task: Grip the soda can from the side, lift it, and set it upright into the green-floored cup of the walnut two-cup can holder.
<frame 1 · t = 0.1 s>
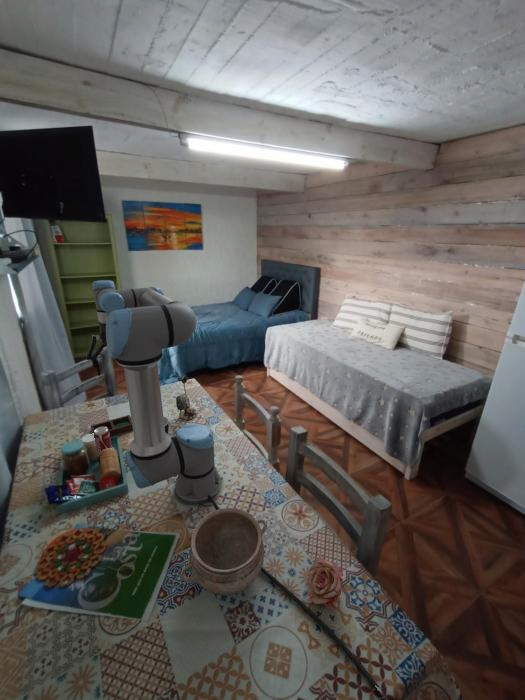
hand: (117, 370, 130), 28 cm above the table, tool pointing down, fingers open, 13 cm apart
plant with pod: (187, 416, 150), on the table
flower: (323, 594, 78), on the table
soda can: (106, 456, 123), on the table
cooking pot: (227, 570, 83), on the table
coffee mug: (161, 440, 133), on the table
holder: (113, 430, 138), on the table
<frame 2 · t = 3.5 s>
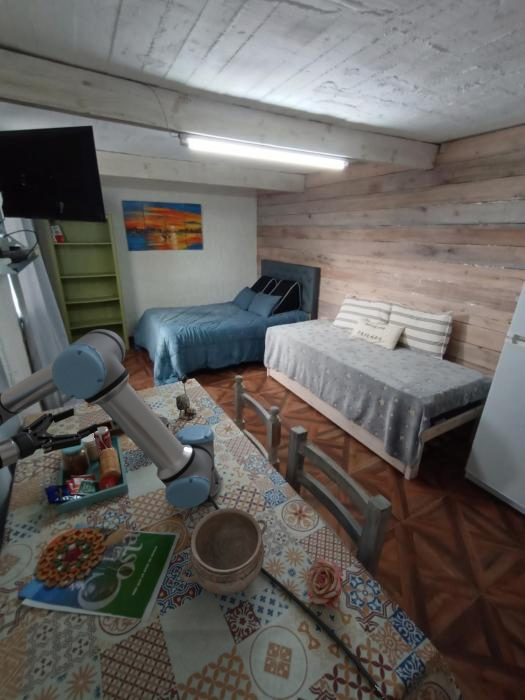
hand: (85, 419, 110), 21 cm above the table, tool horizontal, fingers open, 13 cm apart
nothing on the table moved.
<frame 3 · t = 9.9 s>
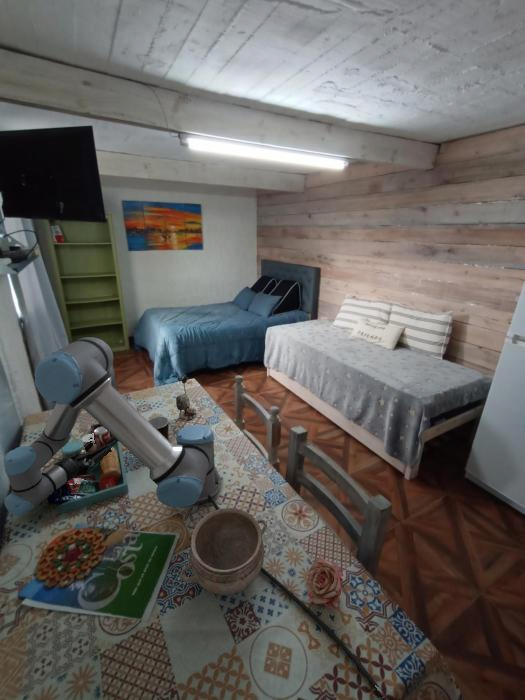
hand: (113, 434, 125), 6 cm above the table, tool horizontal, fingers closed on soda can, 5 cm apart
soda can: (106, 456, 123), on the table, touching gripper
everything else where it was.
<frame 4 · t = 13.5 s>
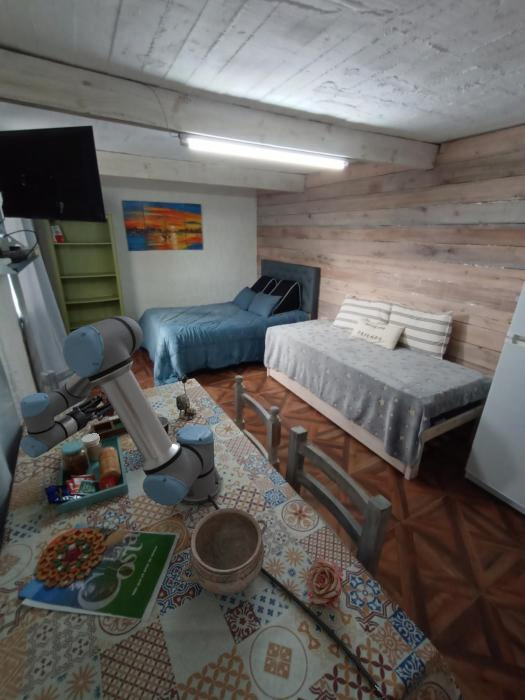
hand: (119, 394, 132), 18 cm above the table, tool horizontal, fingers closed on soda can, 5 cm apart
soda can: (112, 414, 130), point 11 cm above the table, touching gripper
everything else where it was.
when the fingers open (7 cm above the table, at t = 17.6 s): soda can stays where it is, resting on holder.
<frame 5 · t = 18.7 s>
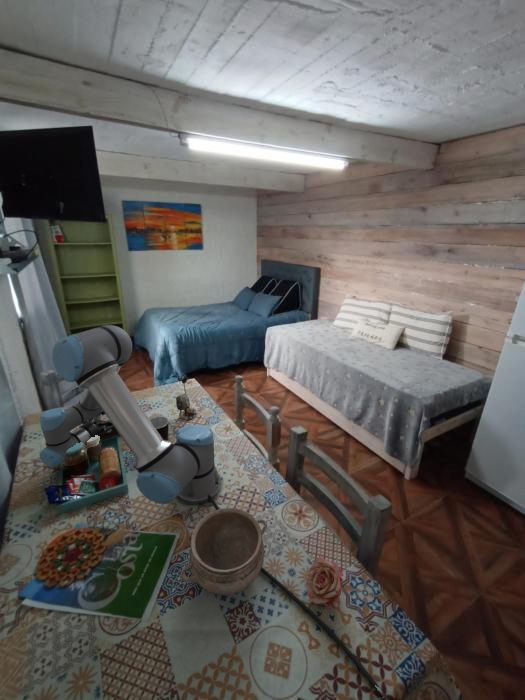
hand: (125, 408, 140), 8 cm above the table, tool horizontal, fingers open, 13 cm apart
soda can: (122, 426, 140), point 1 cm above the table, touching holder
everything else where it was.
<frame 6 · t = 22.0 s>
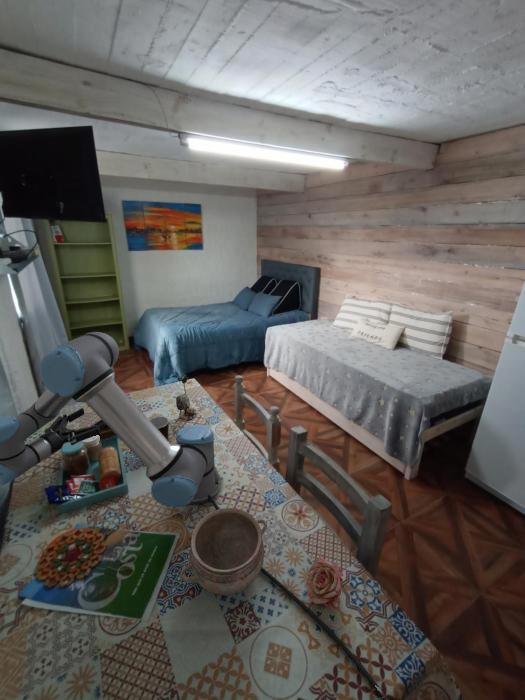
hand: (96, 414, 126), 13 cm above the table, tool horizontal, fingers open, 13 cm apart
nothing on the table moved.
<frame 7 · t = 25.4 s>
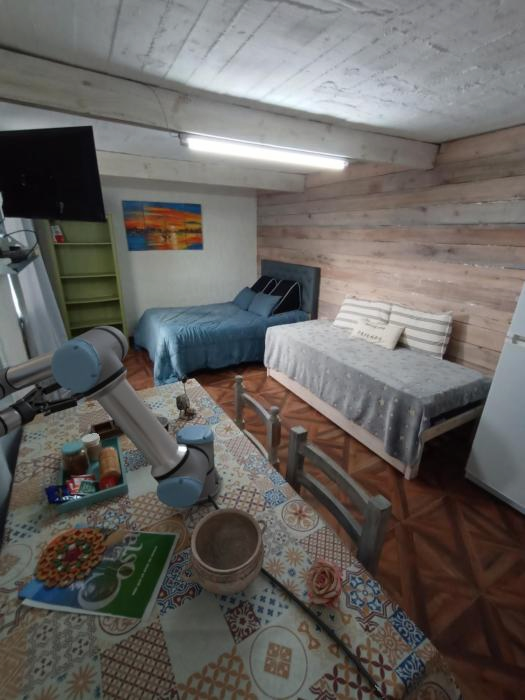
hand: (74, 387, 116), 28 cm above the table, tool horizontal, fingers open, 13 cm apart
nothing on the table moved.
at the end: soda can 0.0 cm from the target spot in the holder, point 0.5 cm above the holder's base; soda can tilted 0°; the gripper is holding nothing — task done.
